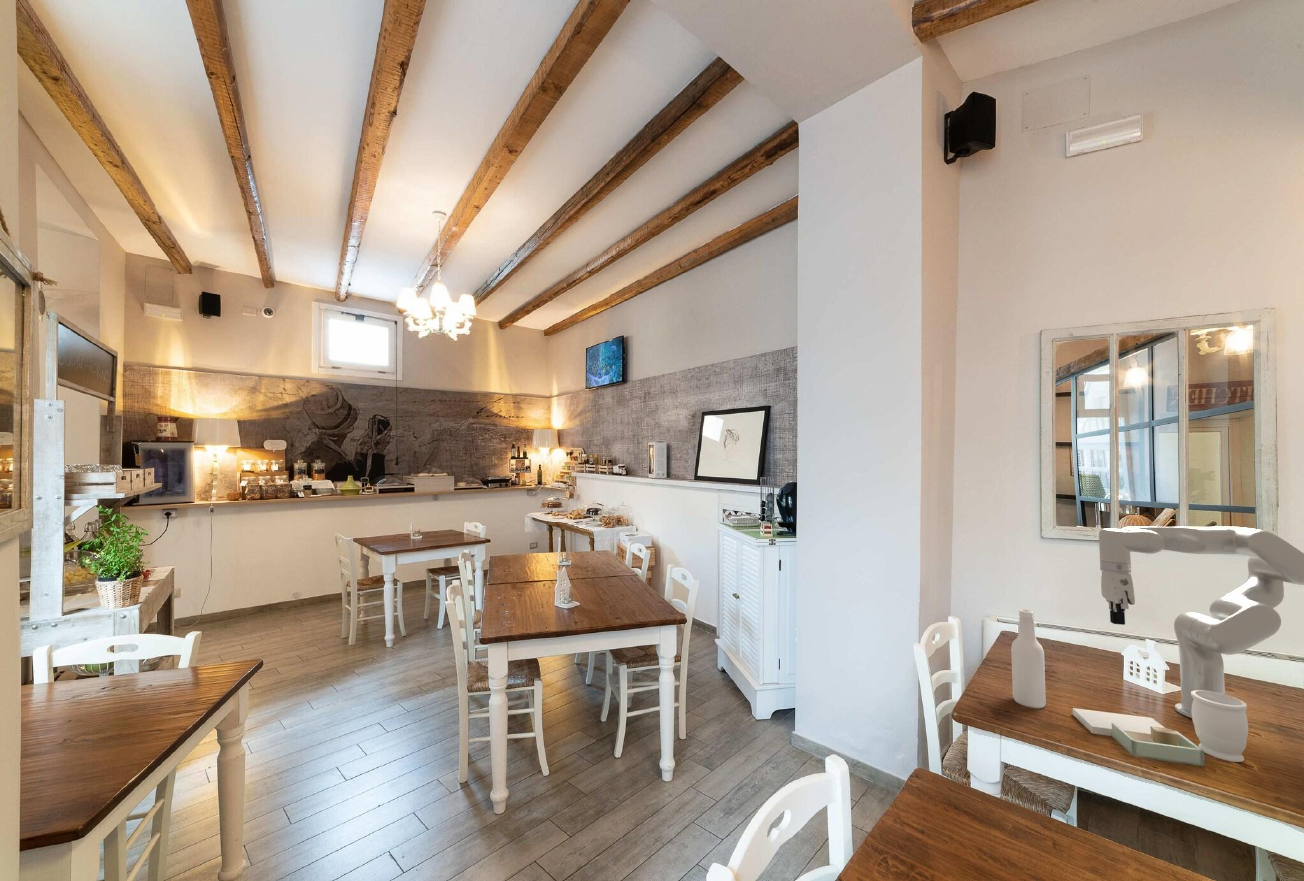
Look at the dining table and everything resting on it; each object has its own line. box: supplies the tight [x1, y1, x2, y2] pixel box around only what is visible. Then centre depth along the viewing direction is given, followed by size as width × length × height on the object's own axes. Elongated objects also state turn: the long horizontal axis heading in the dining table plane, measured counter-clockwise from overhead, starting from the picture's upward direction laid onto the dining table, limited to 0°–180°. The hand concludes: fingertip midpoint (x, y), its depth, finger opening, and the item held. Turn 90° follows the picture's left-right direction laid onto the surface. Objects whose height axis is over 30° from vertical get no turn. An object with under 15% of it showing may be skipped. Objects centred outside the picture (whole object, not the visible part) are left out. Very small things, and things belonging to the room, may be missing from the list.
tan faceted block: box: [1150, 726, 1178, 746], centre depth 142 cm, size 4×4×3 cm
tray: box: [1111, 723, 1206, 767], centre depth 140 cm, size 15×10×4 cm
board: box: [1072, 707, 1166, 739], centre depth 152 cm, size 20×12×2 cm, turn 72°
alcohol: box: [1010, 609, 1047, 709], centre depth 169 cm, size 9×9×30 cm
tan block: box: [1126, 732, 1155, 743], centre depth 141 cm, size 4×4×3 cm
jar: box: [1191, 690, 1249, 763], centre depth 139 cm, size 11×10×15 cm
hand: (1117, 623), depth 166 cm, fingers closed
